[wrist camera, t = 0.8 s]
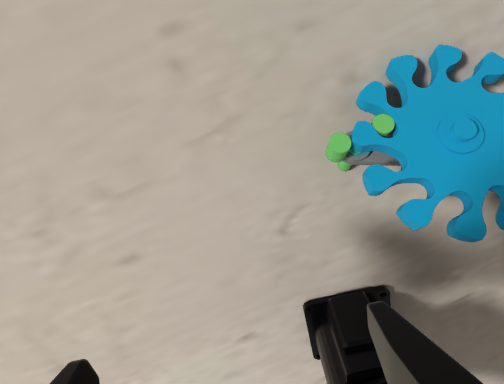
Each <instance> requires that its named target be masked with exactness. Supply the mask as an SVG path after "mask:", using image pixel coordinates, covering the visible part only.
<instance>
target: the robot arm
mask: <svg viewBox="0 0 504 384" xmlns="http://www.w3.org/2000/svg"><path fill="white" fill-rule="evenodd" d="M310 307H312V308H310ZM303 309H304V314H305V319H306V323H307V328H308V333H309V338H310V342H311V347H312V352H313V356H314V358H315V359H317V360H320V359H321V362H322V366H323V370H324V374H325V378H326V381H327V384H483V383H482V382H481V381H480V380H478V379H477V378H476V377H475V376H473V375H472V374H471V373H470V372H469V371H467V370H466V369H465V368H464V367H462V366H461V365H460V364H459V363H458V362H456V361H455V360H454V359H453V358H452V357H450V356H449V355H448V354H447V353H445V352H444V351H443V350H442V349H441V348H439V347H438V346H437V345H436V344H435V343H433V342H432V341H431V340H430V339H428V338H427V337H426V336H425V335H424V334H422V333H421V332H420V331H419V330H418V329H416V328H415V327H414V326H413V325H411V324H410V323H409V322H408V321H407V320H405V319H404V318H403V317H402V316H401V315H399V314H398V313H397V312H396V311H394V310H393V309H392V308H391V307H390V292H389V290H388V288H387V287H385V286H379V287H374V288H370V289H365V290H360V291H355V292H350V293H345V294H341V295H336V296H331V297H326V298H321V299H317V300H312V301H308V302H306V303H304V305H303ZM50 384H100V383H99V377H98V375H97V374H96V372H95V371H94V369H93V368H92V366H91V365H90V363H89V362H88V361H87V360H86V359H81V360H76V361H72V362H70V363H68V364H67V365H66V366H65V368H64V369H63V370H62V371H61V372H60V373H59V374H58V375H57V376H56V377H55V379H54V380H53V381H52V382H51V383H50Z"/></svg>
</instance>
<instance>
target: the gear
mask: <svg viewBox="0 0 504 384" xmlns="http://www.w3.org/2000/svg"><path fill="white" fill-rule="evenodd" d="M461 57H462V51H461V50H460V49H458V48H455V47H452V46H447V45H438V46H437V48H436V49H435V51H434V52H433V54H432V55H431V57H430V58H429V66H430V69H431V82H430V85H429V87H427V88H420V87H417V86H416V85H415V84H414V83H413V81H412V75H413V73H414V72H415V70H416V68H417V61H416V59H415V57H414V56H413V55H406V56H401V57H397V58H394V59H391V61H390V63H389V65H388V67H387V70H386V75H387V77H388V79H389V80H390V81H391V82H393V83H394V85H395V86H396V87H397V89H398V90H399V93H400V95H401V100H402V107H401V108H395V107H392V106H391V105H389V104H388V102H387V98H386V89H385V87H384V86H383V85H382V84H381V83H379V82H377V81H374V82H372V83H370V84H369V85H367V86H366V87H365V88H364V89H363V90H362V91H361V93H360V94H359V96H358V98H357V101H356V104H357V106H358V107H359V108H360V109H361V110H363V111H366V112H370V113H372V114H374V115H376V117H375V118H374V120H373V122H372V123H371V124H370V123H368V122H366V121H358V122H357V124H356V125H355V127H354V129H353V131H352V132H348V133H346V134H344V133H336V134H334V135H333V136H332V137H331V138H330V141H329V144H328V146H327V149H326V156H327V158H328V159H329V160H330V161H332V162H339V164H338V167H339V169H340V170H342V171H348V170H349V169H350V167H351V166H352V165H371V166H369V167H368V168H367V169H366V170H365V171H364V173H363V183H364V186H365V188H366V191H367V193H368V195H371V196H377V195H380V194H382V193H383V192H384V191H385V190H386V189H388V188H389V187H391V186H394V185H396V184H401V183H418V184H421V185H422V186H424V187H425V189H426V190H427V198H426V199H412V200H409V201H408V202H406V203H405V204H403V205H402V206H400V207H399V208H398V210H397V213H396V214H397V215H398V217H399V218H400V220H401V221H402V222H403V223H404V224H406V225H407V226H408V227H409V228H411V229H412V230H413V231H414V230H418V229H420V228H422V227H424V226H426V225H428V224H429V223H430V221H431V219H432V215H433V212H434V209H435V207H436V206H437V204H438V203H439V202H440V201H441V200H442V199H443V198H445V197H446V196H450V195H453V196H456V197H458V198H459V199H461V201H462V202H463V204H464V210H463V212H462V214H460V215H459V216H457V217H455V218H453V219H452V220H451V221H450V222H449V223H448V225H447V234H448V235H449V236H451V237H453V238H455V239H458V240H461V241H466V242H476V241H480V240H483V238H484V237H485V235H486V225H485V223H484V220H483V215H482V206H483V201H484V199H485V196H486V194H487V192H488V190H491V191H493V192H495V193H496V194H497V195H498V196H499V198H500V201H501V202H500V206H499V209H498V211H497V213H496V222H497V224H498V226H499V227H500V228H501V229H502V230H504V93H490V92H488V91H486V90H485V89H484V88H483V87H482V84H492V83H495V82H497V81H498V80H499V79H500V78H501V77H502V76H503V75H504V59H503V58H502V57H500V56H499V55H497V54H495V53H493V52H491V53H488V54H487V55H486V56H485V57H484V58H483V59H482V60H481V61H480V62H479V63H478V64H477V66H476V67H475V69H474V73H473V76H472V77H470V78H469V79H467V80H465V81H463V82H459V83H457V82H453V81H451V80H450V79H448V77H447V75H446V74H447V73H449V72H450V71H451V70H452V69H453V68H454V67H455V66H456V64H457V63H458V62H459V61H460V59H461ZM391 132H392V134H390V133H391ZM382 165H393V166H401V171H399V172H396V171H392V170H390V169H388V168H386V167H384V166H382Z"/></svg>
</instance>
